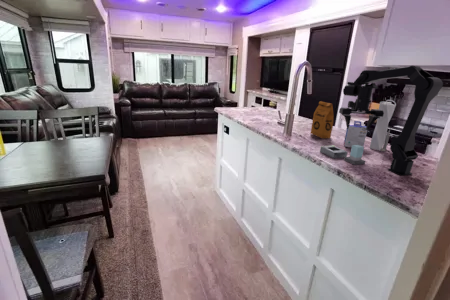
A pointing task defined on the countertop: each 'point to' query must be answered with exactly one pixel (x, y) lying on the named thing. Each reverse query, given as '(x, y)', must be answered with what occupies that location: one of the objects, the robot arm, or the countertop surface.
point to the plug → (356, 152)
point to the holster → (354, 161)
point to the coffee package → (323, 120)
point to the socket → (333, 151)
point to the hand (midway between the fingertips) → (357, 129)
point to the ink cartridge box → (355, 135)
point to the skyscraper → (382, 127)
